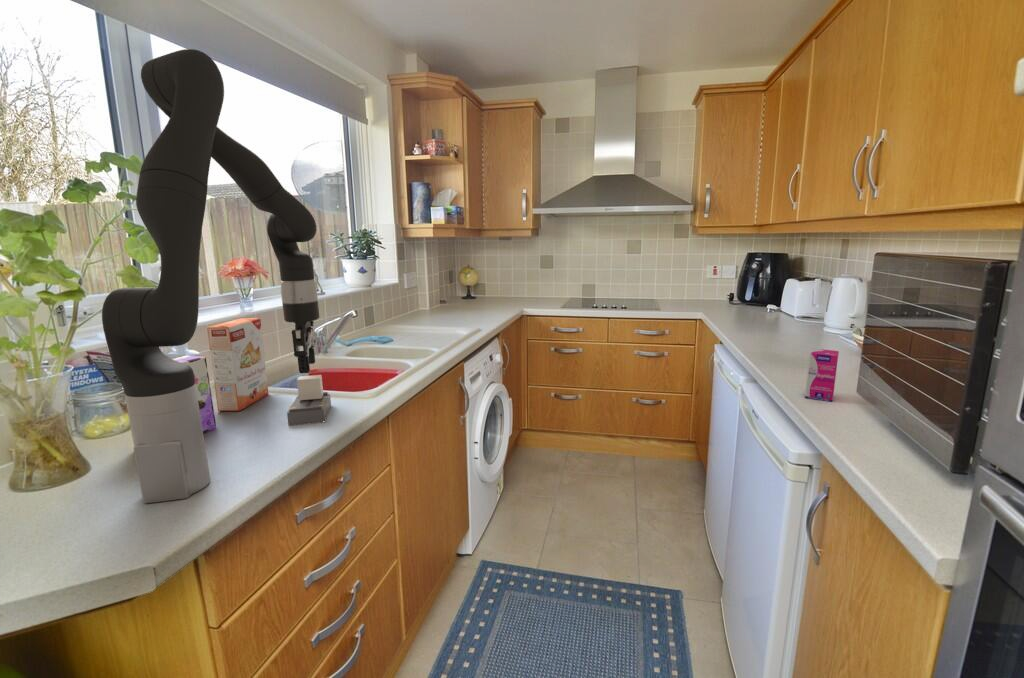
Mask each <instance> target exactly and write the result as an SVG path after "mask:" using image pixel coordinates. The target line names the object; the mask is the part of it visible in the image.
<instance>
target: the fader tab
mask: <svg viewBox="0 0 1024 678" xmlns="http://www.w3.org/2000/svg"><path fill="white" fill-rule="evenodd" d="M296 383H297V393H298V394H297V395H299V400H310V399H321V398H322V397H323V392H324V387H323V377H322V374H313V375H303V376H301V375H300V376H298V377H297V378H296Z"/></svg>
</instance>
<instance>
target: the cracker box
mask: <svg viewBox="0 0 1024 678" xmlns="http://www.w3.org/2000/svg"><path fill="white" fill-rule="evenodd" d="M206 330H207V331H206V332H207V338H208V346H209V355H210V361H211V362H210V363H211V367H212V368H211V370H212V375H213V383H214V384H213V385H214V392H215V401H216V405H217V411H218V412H219V411H220V412H240V411H242V410H243V409H245V408H247V407H249V406H250V405H252V404H254V403H255V402H257V401H259V400H261V399H262V398H264V397H266V396H267V395H269V387H268V378H267V369H266V368H267V366H266V359H265V358H266V357H265V351H264V350H265V349H264V339H263V332H262V330H263V329H262V321H261V318H259V317H246V318H245V317H243V318H241V317H240V318H237V319H233V320H230V321H225V322H221V323H217V324H214V325H210V326H207V327H206Z"/></svg>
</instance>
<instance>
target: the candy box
mask: <svg viewBox="0 0 1024 678" xmlns="http://www.w3.org/2000/svg"><path fill="white" fill-rule="evenodd" d="M172 359H173V360H175V361H178V362H181V363H184V364H186V365H188V366H190V367H191V368H192V370H193V372H194V378H195V384H196V391H197V397H198V404H199V411H200V417H201V423H202V430H203V434H205V433H208V432H211V431H212V430H215V429H216V428H217V423H216V416H215V409H214V403H213V398H212V390H211V384H210V377H209V376H210V375H209V371H208V363H207V358H206V356H201V355H199V356H198V355H197V356H196V355H183V356H179V357H175V358H172Z"/></svg>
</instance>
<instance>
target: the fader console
mask: <svg viewBox="0 0 1024 678" xmlns="http://www.w3.org/2000/svg"><path fill="white" fill-rule="evenodd" d="M331 407H332V400H331V394H330V393H329V392H328V391H323V397H322V398H321V399H310V400H299V394H297V396H296V397H295V399H294V400H293V402H292V404H291V406H290V407H289V409H288V410H287V412H286V416H287V417H286V418H287V424H288V425H287V426H289V427H290V426H299V424H300V425H307V424H308V423H310V424H318V423H317V422H321V423H324V422H323V421H325V422H326V420H325V419H327V418H328V415H329V412H330V410H331ZM329 409H330V410H329ZM327 414H328V415H327ZM326 417H327V418H326ZM308 425H309V424H308Z"/></svg>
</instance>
